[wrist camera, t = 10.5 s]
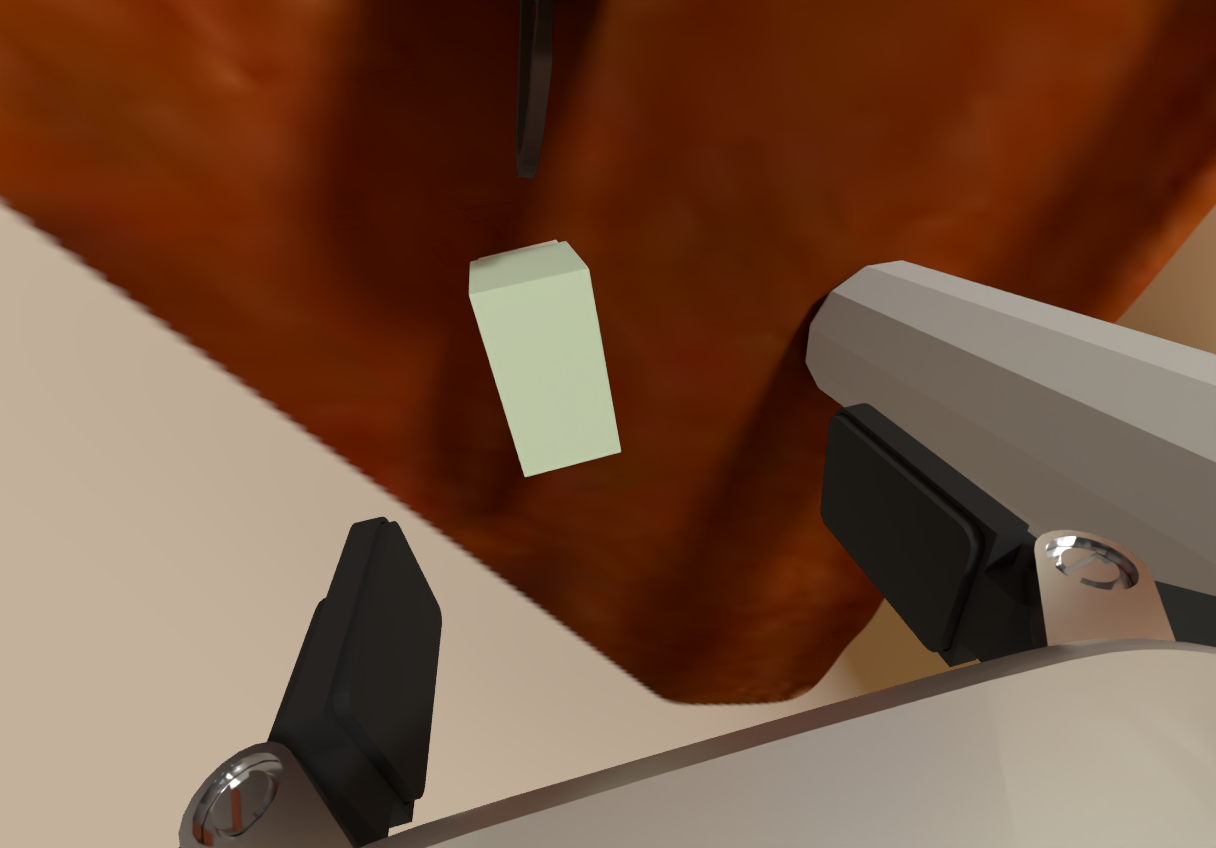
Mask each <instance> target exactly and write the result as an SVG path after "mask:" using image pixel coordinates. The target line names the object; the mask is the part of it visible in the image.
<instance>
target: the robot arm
mask: <svg viewBox="0 0 1216 848" xmlns="http://www.w3.org/2000/svg"><path fill="white" fill-rule="evenodd" d="M820 510H821V516H822V519H823V521H824V523H825V525H826V526H827V527H828V529H829V530H830V531H831V532H832V534H833V535H834V536H835V537H836V539H837V540H838V541H839V542H840V543H841V545H842V546H843V547H844V548H845V550H846V551H847V552H848V553H849V554H850V556H851V557H852V558H853V559H854V561H855V562H856V563H857V564H858V565H859V567H860V568H861V569H862V570H863V572H864V573H865V574H866V575H867V576H868V578H869V579H870V580H871V581H872V583H873V584H874V585H875V586H876V587H877V589H878V590H879V591H880V592H881V594H882V595H883V596H884V597H885V598H886V600H887V601H888V602H889V603H890V604H891V606H892V607H893V608H894V609H895V611H896V612H897V613H898V614H899V615H900V617H901V618H902V619H903V620H904V622H905V623H906V624H907V625H908V627H909V628H910V629H911V630H912V631H913V632H914V634H915V635H916V636H917V638H918V639H919V640H920V641H921V642H922V644H923V645H924V646H925V647H926V648H927V649H928V650H930V651H932V652H938V653H939V655H940V656H941V657H942V658H943V659H944V661H945V662H946V663H947V664H948V665H949V667H953V666H956V665H959V664H963V663H967V662H970V661H973V660H976V659H977V658H978V659H979V661H980V662H981V663H978V664H974V665H971V666H967V667H963V668H959V669H955V670H951V671H947V672H944V673H940V674H937V675H933V676H929V677H926V678H923V679H919V680H915V681H912V682H908V683H905V684H902V685H897V686H894V687H890V688H887V689H884V690H880V691H876V692H873V693H869V694H866V695H862V696H858V697H855V698H851V699H848V700H844V701H841V702H837V703H834V704H830V705H827V706H823V707H819V708H816V709H812V710H809V711H805V712H802V713H798V714H795V715H791V716H788V717H784V718H781V719H778V720H774V721H771V722H767V723H763V724H760V725H757V726H753V727H750V728H746V729H743V730H739V731H736V732H732V733H729V734H725V735H722V736H718V737H715V738H711V739H708V740H705V741H701V742H698V743H694V744H691V745H687V746H684V747H680V748H677V749H673V750H670V751H666V752H663V753H659V754H656V755H653V756H649V757H646V758H642V759H639V760H635V761H632V762H629V763H625V764H622V765H618V766H615V767H612V768H608V769H605V770H601V771H598V772H595V773H591V774H588V775H584V776H581V777H577V778H574V779H571V780H568V781H564V782H561V783H557V784H554V785H550V786H547V787H543V788H540V789H536V790H533V791H530V792H526V793H523V794H520V795H516V796H513V797H509V798H506V799H503V800H500V801H497V802H493V803H490V804H487V805H484V806H481V807H478V808H474V809H471V810H468V811H465V812H462V813H458V814H455V815H452V816H449V817H445V818H442V819H439V820H436V821H433V822H429V823H426V824H423V825H420V826H417V827H414V828H412V829H408V830H406V831H403V832H400V833H398V834H395V835H392V836H389V837H388V832H389V828H392V827H395V826H399V825H402V824H406V823H409V822H412V818H413V808H414V801H415V800H416V799H420V798H421V797H422V795H423V793H424V788H425V781H426V771H427V762H428V753H429V743H430V733H431V723H432V714H433V704H434V695H435V685H436V675H437V666H438V656H439V647H440V637H441V627H442V616H441V611H440V607H439V605H438V603H437V601H436V599H435V597H434V595H433V593H432V591H431V589H430V587H429V585H428V582H427V581H426V578H425V577H424V575H423V572H422V571H421V569H420V566H419V564H418V563H417V560H416V558H415V556H414V554H413V552H412V551H411V548H410V547H409V544H408V542H407V540H406V538H405V536H404V534H403V532H402V530H401V528H400V526H399V525H398V523H397V522H396V521H393V522H388V520H387V519H386V518H385V517H378V518H374V519H370V520H366V521H362V522H357V523H354V524H353V525H352V527H351V529H350V531H349V534H348V537H347V540H346V543H345V545H344V548H343V551H342V554H341V557H340V560H339V563H338V565H337V568H336V571H335V574H334V577H333V580H332V582H331V585H330V588H329V591H328V594H327V597H326V598H324V599H323V600H322V601H320V602H319V604H318V606H317V608H316V610H315V612H314V615H313V618H312V620H311V623H310V626H309V629H308V631H307V634H306V636H305V639H304V642H303V645H302V648H301V650H300V653H299V656H298V658H297V661H296V664H295V667H294V669H293V672H292V675H291V678H290V681H289V683H288V686H287V688H286V691H285V694H284V697H283V700H282V702H281V705H280V708H279V710H278V713H277V716H276V719H275V721H274V724H273V727H272V730H271V732H270V735H269V738H268V740H267V742H265V743H259V744H255V745H253V746H250V747H248V748H246V749H244V750H242V751H239V752H238V753H237V754H235V755H234V756H232V757H231V758H229V759H228V760H227V761H225V762H224V763H222V764H221V765H220V766H219V767H218V768H217V769H216V770H215V771H214V772H213V773H212V774H211V775H210V776H209V777H208V778H207V779H206V780H205V781H204V782H203V784H202V785H201V787H200V788H199V789H198V790H197V792H196V793H195V794H194V796H193V797H192V799H191V801H190V803H189V805H188V807H187V809H186V811H185V813H184V815H183V818H182V822H181V826H180V830H179V840H180V841H179V842H180V847H179V848H1216V596H1213V595H1209V594H1205V593H1201V592H1198V591H1194V590H1190V589H1186V588H1182V587H1178V586H1174V585H1171V584H1167V583H1163V582H1159V581H1155V580H1154V579H1153V576H1152V574H1151V572H1150V571H1149V569H1148V568H1147V566H1146V564H1145V563H1144V562H1143V561H1141V560H1140V559H1139V558H1138V557H1137V556H1136V555H1135V554H1134V553H1132V552H1131V551H1129V550H1127V549H1126V548H1124V547H1122V546H1121V545H1119V544H1117V543H1115V542H1113V541H1110V540H1108V539H1106V538H1103V537H1101V536H1097V535H1093V534H1090V533H1086V532H1081V531H1072V530H1058V531H1051V532H1048V533H1045V534H1043V535H1041V536H1040V537H1039V538H1038V539H1037V538H1036V537H1035V536H1033V535H1032V534H1031V533H1029V532H1028V529H1029V526H1030V525H1028V524H1027V523H1026V522H1024V521H1023V520H1022V519H1020V518H1019V517H1018V516H1016V515H1015V514H1014V513H1013V512H1011V511H1010V510H1009V509H1007V508H1006V507H1005V506H1003V505H1002V504H1001V503H999V502H998V501H997V500H995V499H994V498H993V497H991V496H990V495H989V494H987V493H986V492H985V491H983V490H982V489H981V488H980V487H978V486H977V485H976V484H974V483H973V482H972V481H970V480H969V479H968V478H966V477H965V476H964V475H962V474H961V473H960V472H958V471H957V470H956V469H954V468H953V467H952V466H950V465H949V464H948V463H947V462H945V461H944V460H943V459H941V458H940V457H939V456H937V455H936V454H935V453H933V452H932V451H931V450H929V449H928V448H927V447H925V446H924V445H923V444H921V443H920V442H919V441H917V440H916V439H915V438H914V437H912V436H911V435H910V434H908V433H907V432H906V431H904V430H903V429H902V428H900V427H899V426H898V425H896V424H895V423H894V422H892V421H891V420H890V419H888V418H887V417H886V416H884V415H883V414H882V413H880V412H879V411H878V410H877V409H875V408H874V407H873V406H871V405H870V404H868V403H861V404H857V405H852V406H848V407H844V408H840V409H838V410H837V412H836V414H835V417H832V418H831V419H830V421H829V427H828V437H827V447H826V457H825V468H824V478H823V488H822V498H821V508H820Z"/></svg>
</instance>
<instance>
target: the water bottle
mask: <svg viewBox="0 0 1216 848" xmlns="http://www.w3.org/2000/svg"><path fill="white" fill-rule="evenodd" d="M806 364H807V366H808V368H809V370H810V372H811V374H812V376H813V378H814V380H815V382H816V384H817V386H818V388H819V389H821V390H822V391H823V392H825V393H826V394H827V395H829V396H830V397H831V398H833V399H834V400H835V401H837V402H838V403H839V404H841V405H842V406H843V407H848V406H852V405H857V404H861V403H868V404H870V405H871V406H873V407H874V408H875V409H877V410H878V411H879V412H880V413H882V414H883V415H884V416H886V417H887V418H888V419H890V420H891V421H892V422H894V423H895V424H896V425H898V426H899V427H900V428H902V429H903V430H904V431H906V432H907V433H908V434H910V435H911V436H912V437H914V438H915V439H916V440H917V441H919V442H920V443H921V444H923V445H924V446H925V447H927V448H928V449H929V450H931V451H932V452H933V453H935V454H936V455H937V456H939V457H940V458H941V459H943V460H944V461H945V462H947V463H948V464H949V465H950V466H952V467H953V468H954V469H956V470H957V471H958V472H960V473H961V474H962V475H964V476H965V477H966V478H968V479H969V480H970V481H972V482H973V483H974V484H976V485H977V486H978V487H980V488H981V489H982V490H983V491H985V492H986V493H987V494H989V495H990V496H991V497H993V498H994V499H995V500H997V501H998V502H999V503H1001V504H1002V505H1003V506H1005V507H1006V508H1007V509H1009V510H1010V511H1011V512H1013V513H1014V514H1015V515H1016V516H1018V517H1019V518H1020V519H1022V520H1023V521H1024V522H1026V523H1027V524H1028V525H1030V526H1029V529H1028V532H1029V533H1031V534H1032V535H1033V536H1035V537H1036V538H1037V539H1038V538H1039V537H1040V536H1041V535H1043V534H1045V533H1048V532H1051V531H1058V530H1072V531H1081V532H1086V533H1090V534H1093V535H1097V536H1101V537H1103V538H1106V539H1108V540H1110V541H1113V542H1115V543H1117V544H1119V545H1121V546H1122V547H1124V548H1126V549H1127V550H1129V551H1131V552H1132V553H1134V554H1135V555H1136V556H1137V557H1138V558H1139V559H1140V560H1141V561H1143V562H1144V563H1145V564H1146V566H1147V568H1148V569H1149V571H1150V572H1151V574H1152V576H1153V579H1154V580H1155V581H1159V582H1163V583H1167V584H1171V585H1174V586H1178V587H1182V588H1186V589H1190V590H1194V591H1198V592H1201V593H1205V594H1209V595H1213V596H1216V355H1215V354H1211V353H1208V352H1205V351H1202V350H1198V349H1195V348H1192V347H1188V346H1185V345H1182V344H1178V343H1175V342H1172V341H1168V340H1165V339H1162V338H1158V337H1155V336H1151V335H1148V334H1145V333H1142V332H1138V331H1135V330H1131V329H1128V328H1125V327H1122V326H1118V325H1115V324H1112V323H1108V322H1105V321H1102V320H1098V319H1095V318H1092V317H1089V316H1085V315H1082V314H1079V313H1075V312H1072V311H1069V310H1065V309H1062V308H1059V307H1055V306H1052V305H1049V304H1045V303H1042V302H1039V301H1035V300H1032V299H1029V298H1025V297H1022V296H1019V295H1015V294H1012V293H1009V292H1005V291H1002V290H999V289H995V288H992V287H989V286H985V285H982V284H979V283H975V282H972V281H969V280H965V279H962V278H959V277H955V276H952V275H949V274H946V273H942V272H939V271H936V270H932V269H929V268H926V267H922V266H919V265H916V264H912V263H909V262H906V261H902V260H901V261H895V262H889V263H882V264H876V265H870V266H866V267H864V268H863V269H861V270H860V271H858V272H857V273H856V274H854V275H853V276H851V277H850V278H849V279H847V280H846V281H845V282H843V283H842V284H840V285H839V286H838V287H836V288H835V289H834V290H832V291H831V292H830V293H829V294H828V296H827V298H826V299H825V301H824V302H823V304H822V306H821V307H820V309H819V310H818V312H817V314H816V315H815V317H814V319H813V320H812V322H811V323H810V329H809V338H808V346H807V354H806Z"/></svg>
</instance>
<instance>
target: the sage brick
mask: <svg viewBox="0 0 1216 848" xmlns="http://www.w3.org/2000/svg"><path fill="white" fill-rule="evenodd" d="M469 297H470V300H471V304H472V307H473V310H474V313H475V317H476V320H477V323H478V326H479V330H480V333H481V336H482V339H483V343H484V346H485V349H486V352H487V356H488V359H489V362H490V365H491V369H492V372H493V375H494V378H495V382H496V385H497V388H498V391H499V395H500V398H501V401H502V404H503V408H504V411H505V414H506V417H507V421H508V424H509V427H510V430H511V434H512V437H513V440H514V444H515V447H516V450H517V453H518V457H519V460H520V463H521V466H522V470H523V473H524V476H525V477H528V476H531V475H535V474H539V473H543V472H547V471H550V470H554V469H558V468H562V467H566V466H569V465H573V464H577V463H581V462H585V461H588V460H592V459H596V458H600V457H604V456H607V455H611V454H615V453H619V452H621V449H620V443H619V437H618V432H617V426H616V421H615V415H614V409H613V404H612V398H611V392H610V387H609V381H608V375H607V370H606V364H605V358H604V353H603V347H602V341H601V336H600V330H599V324H598V319H597V313H596V307H595V302H594V296H593V290H592V285H591V279H590V274H589V268H588V267H587V266H586V265H585V263H584V262H583V261H582V260H581V259H580V257H579V256H578V255H577V254H576V253H575V251H574V250H573V249H572V248H571V247H570V245H569V244H568V243H567V242H566V241H564V242H560V243H555V244H550V245H546V246H541V247H536V248H532V249H527V250H522V251H518V252H513V253H508V254H504V255H499V256H494V257H490V258H485V259H480V260H475V261H471V262H470V278H469Z"/></svg>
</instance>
